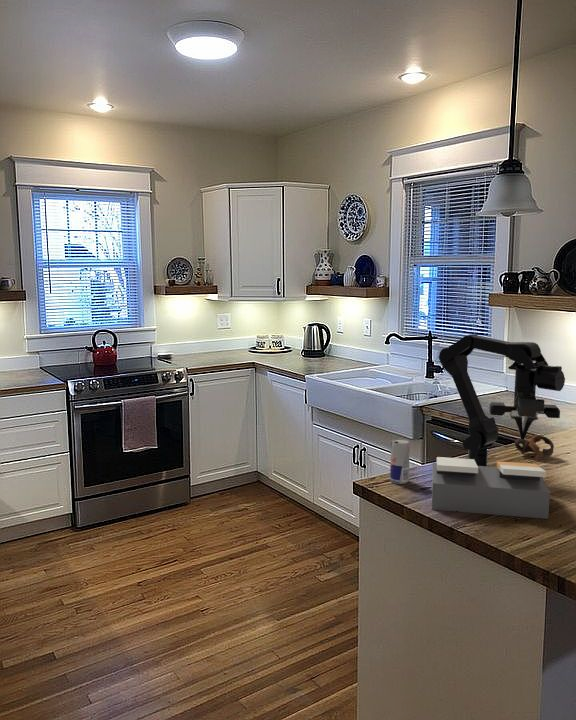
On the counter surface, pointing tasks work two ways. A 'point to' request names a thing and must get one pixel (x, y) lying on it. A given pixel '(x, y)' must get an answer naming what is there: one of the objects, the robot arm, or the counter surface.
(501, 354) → the robot arm
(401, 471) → the energy drink
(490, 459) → the counter surface
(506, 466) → the orange and white panel
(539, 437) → the brown chain link decor
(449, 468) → the rocker plain
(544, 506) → the switch strip
